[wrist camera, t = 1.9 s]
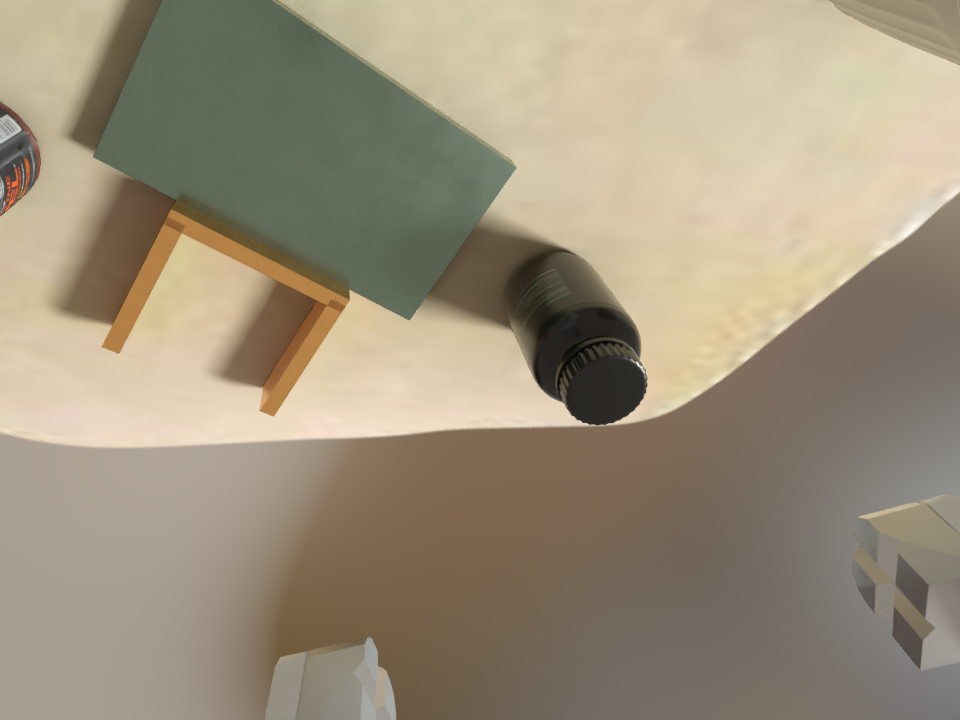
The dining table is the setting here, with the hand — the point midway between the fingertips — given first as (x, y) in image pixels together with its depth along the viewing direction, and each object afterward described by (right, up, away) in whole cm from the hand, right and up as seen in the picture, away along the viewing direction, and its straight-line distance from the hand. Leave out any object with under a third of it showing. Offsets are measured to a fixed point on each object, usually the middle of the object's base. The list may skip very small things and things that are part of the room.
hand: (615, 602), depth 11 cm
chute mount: (-15, +12, +31) cm, 36 cm away
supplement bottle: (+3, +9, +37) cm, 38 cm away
